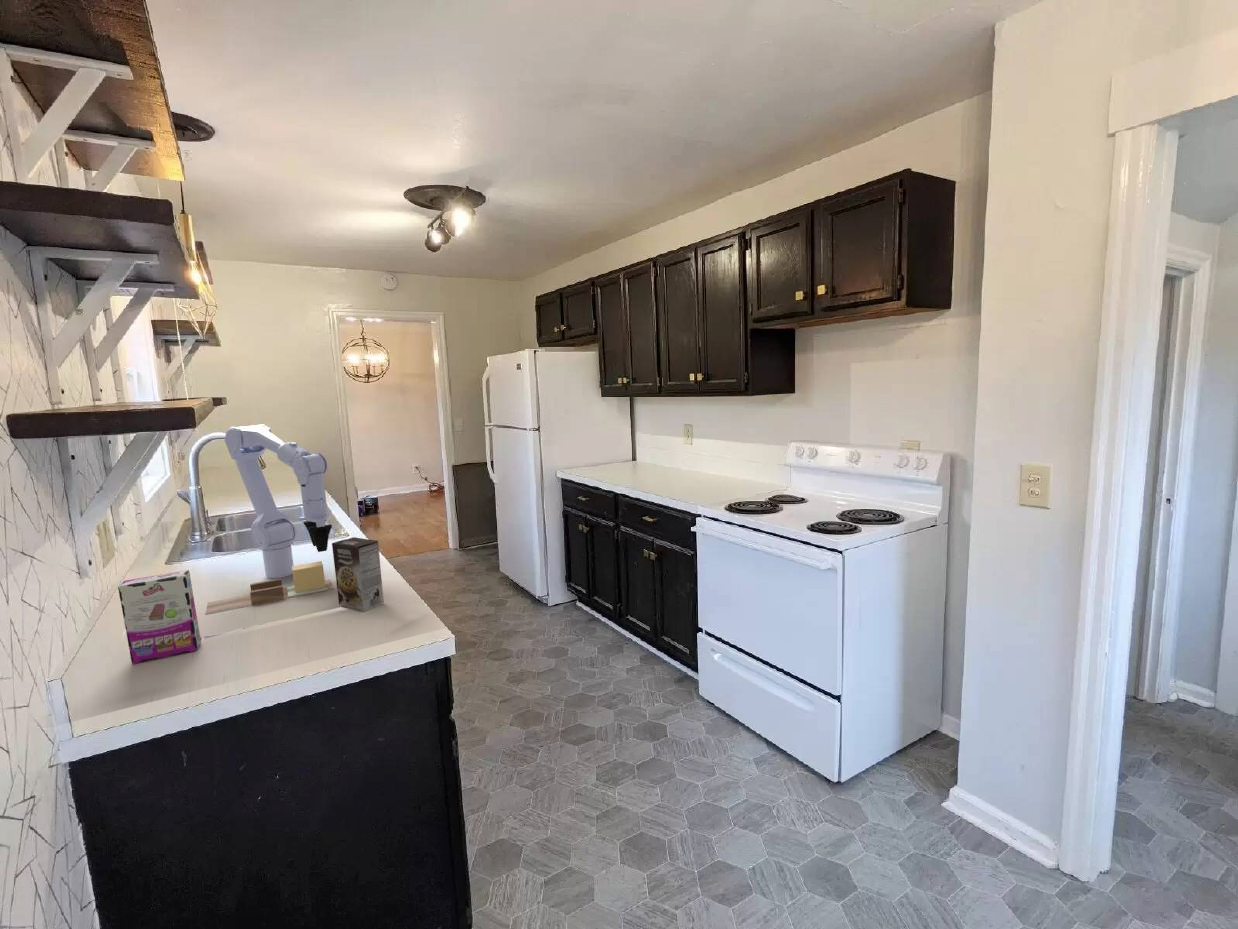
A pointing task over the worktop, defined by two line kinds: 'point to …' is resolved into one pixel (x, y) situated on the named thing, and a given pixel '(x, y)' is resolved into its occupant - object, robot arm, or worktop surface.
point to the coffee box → (358, 573)
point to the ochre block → (308, 576)
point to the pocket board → (262, 595)
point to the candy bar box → (159, 616)
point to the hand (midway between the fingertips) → (320, 548)
